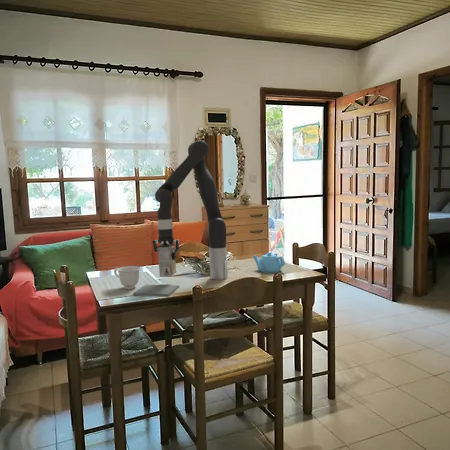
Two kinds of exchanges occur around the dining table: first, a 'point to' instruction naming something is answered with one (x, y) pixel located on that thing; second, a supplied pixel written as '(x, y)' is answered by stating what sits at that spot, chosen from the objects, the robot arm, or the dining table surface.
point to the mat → (156, 290)
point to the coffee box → (166, 261)
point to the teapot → (269, 263)
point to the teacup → (128, 276)
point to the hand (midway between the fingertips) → (167, 259)
